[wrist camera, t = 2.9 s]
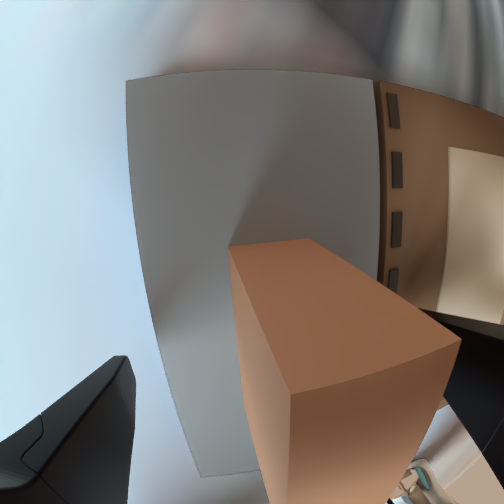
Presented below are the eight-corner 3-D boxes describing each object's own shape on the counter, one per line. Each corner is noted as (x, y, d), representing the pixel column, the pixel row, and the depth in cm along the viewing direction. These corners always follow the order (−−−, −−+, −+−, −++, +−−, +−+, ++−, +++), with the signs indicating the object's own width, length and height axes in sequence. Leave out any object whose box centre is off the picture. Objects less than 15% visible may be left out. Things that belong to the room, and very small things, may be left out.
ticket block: (475, 369, 15) (488, 381, 14) (342, 427, 14) (353, 447, 12) (508, 128, 11) (528, 128, 9) (357, 90, 9) (381, 80, 8)
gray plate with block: (337, 429, 14) (397, 535, 6) (198, 455, 12) (214, 582, 5) (350, 89, 9) (527, 29, 2) (135, 93, 8) (25, -47, 1)
